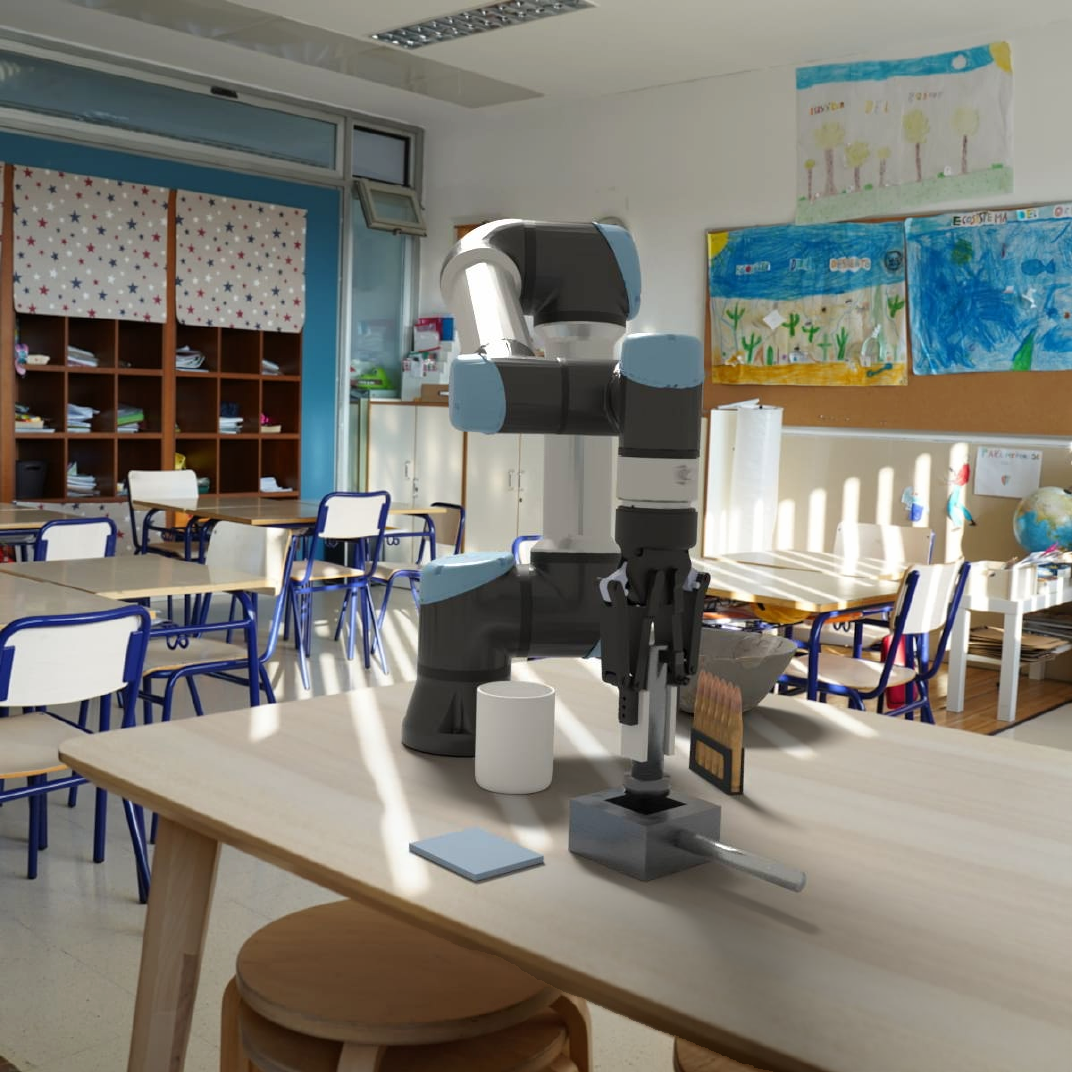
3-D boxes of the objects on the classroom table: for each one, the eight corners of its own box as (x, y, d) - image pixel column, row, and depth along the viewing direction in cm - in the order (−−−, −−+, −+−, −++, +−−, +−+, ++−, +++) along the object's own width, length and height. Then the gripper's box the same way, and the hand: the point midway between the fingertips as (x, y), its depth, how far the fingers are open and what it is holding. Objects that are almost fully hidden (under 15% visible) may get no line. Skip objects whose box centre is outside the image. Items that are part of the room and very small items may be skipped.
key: (603, 786, 121) (608, 640, 120) (636, 779, 124) (641, 636, 122) (657, 805, 116) (663, 652, 114) (690, 796, 118) (696, 647, 117)
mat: (408, 849, 120) (409, 843, 120) (476, 832, 125) (476, 826, 125) (475, 881, 112) (475, 874, 112) (543, 861, 118) (543, 855, 117)
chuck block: (568, 850, 121) (569, 798, 120) (642, 829, 127) (644, 780, 127) (759, 929, 104) (762, 869, 103) (833, 900, 110) (837, 844, 110)
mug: (521, 762, 150) (524, 672, 149) (565, 791, 139) (568, 695, 138) (453, 768, 147) (455, 677, 146) (491, 799, 136) (494, 700, 135)
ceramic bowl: (796, 699, 188) (799, 632, 187) (790, 737, 166) (794, 661, 165) (646, 687, 193) (649, 622, 192) (621, 723, 171) (624, 649, 170)
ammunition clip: (744, 794, 140) (748, 686, 139) (728, 795, 140) (733, 687, 139) (702, 767, 150) (707, 667, 149) (688, 768, 150) (692, 667, 149)
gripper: (623, 509, 109) (614, 778, 111) (745, 505, 120) (734, 750, 122) (564, 503, 115) (556, 759, 117) (685, 499, 125) (676, 734, 127)
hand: (647, 754), depth 119 cm, fingers closed on key, 3 cm apart
